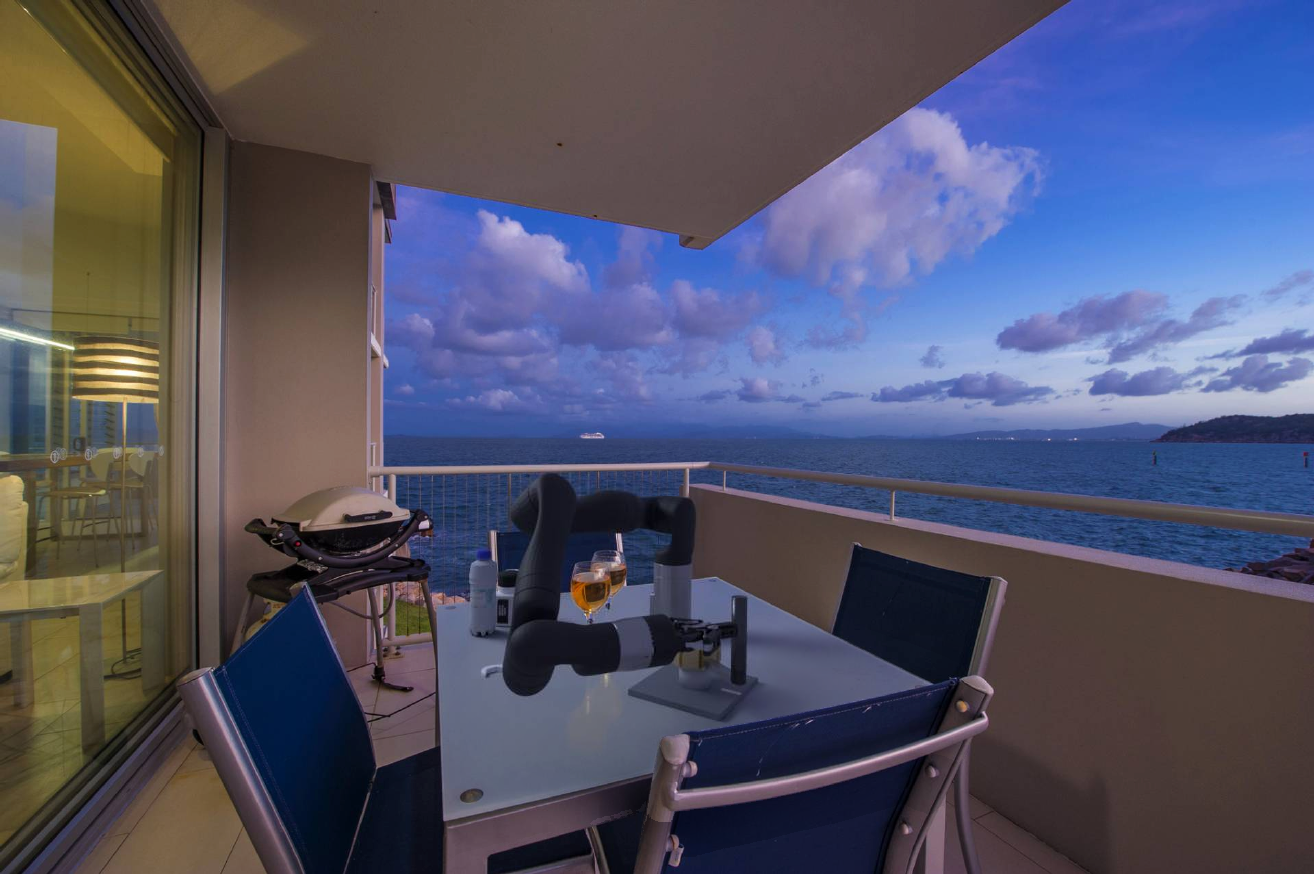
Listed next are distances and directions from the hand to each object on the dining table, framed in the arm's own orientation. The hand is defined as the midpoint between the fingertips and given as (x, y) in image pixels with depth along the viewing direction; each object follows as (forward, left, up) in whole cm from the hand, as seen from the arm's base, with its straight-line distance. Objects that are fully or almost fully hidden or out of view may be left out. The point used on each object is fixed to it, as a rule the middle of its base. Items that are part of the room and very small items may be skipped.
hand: (733, 629), depth 92 cm
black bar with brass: (-7, +5, -10) cm, 13 cm away
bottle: (-68, +8, -15) cm, 70 cm away
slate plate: (-11, +8, -15) cm, 20 cm away
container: (-69, +18, -15) cm, 73 cm away
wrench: (-49, +2, -16) cm, 52 cm away
